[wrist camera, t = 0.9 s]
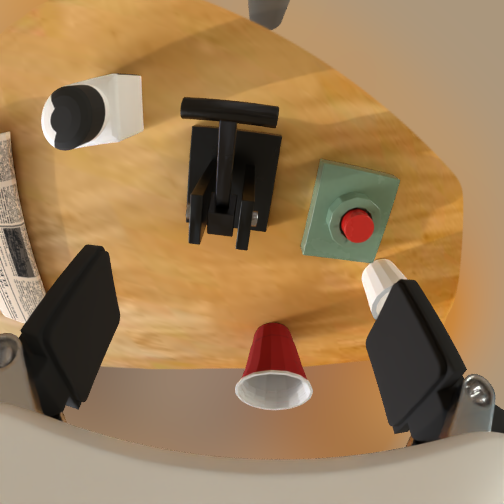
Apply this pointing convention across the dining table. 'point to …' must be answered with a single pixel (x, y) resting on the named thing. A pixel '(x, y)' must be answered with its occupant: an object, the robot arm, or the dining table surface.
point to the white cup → (379, 283)
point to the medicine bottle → (94, 112)
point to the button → (357, 225)
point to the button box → (347, 210)
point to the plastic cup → (273, 371)
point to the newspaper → (15, 247)
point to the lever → (226, 149)
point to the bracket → (243, 180)
